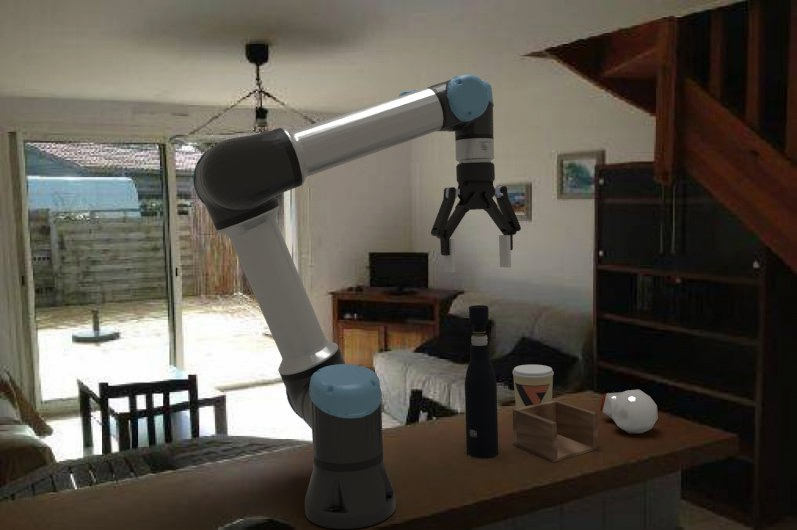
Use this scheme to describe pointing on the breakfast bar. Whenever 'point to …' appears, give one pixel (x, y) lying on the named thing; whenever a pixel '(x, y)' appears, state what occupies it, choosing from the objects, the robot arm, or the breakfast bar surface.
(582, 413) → the u rest
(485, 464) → the breakfast bar surface
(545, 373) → the coffee cup
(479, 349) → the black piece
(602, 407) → the potion bottle
